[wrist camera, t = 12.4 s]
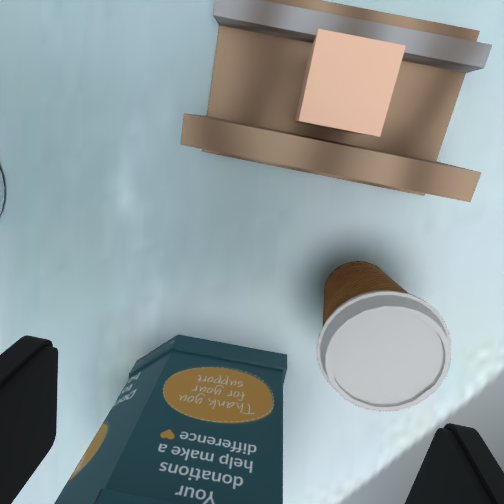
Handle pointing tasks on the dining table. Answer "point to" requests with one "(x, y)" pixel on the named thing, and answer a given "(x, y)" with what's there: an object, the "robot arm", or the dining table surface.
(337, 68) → the terracotta block
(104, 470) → the donation box
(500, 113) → the dining table surface
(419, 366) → the disposable coffee cup
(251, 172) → the dining table surface
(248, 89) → the cleat board
